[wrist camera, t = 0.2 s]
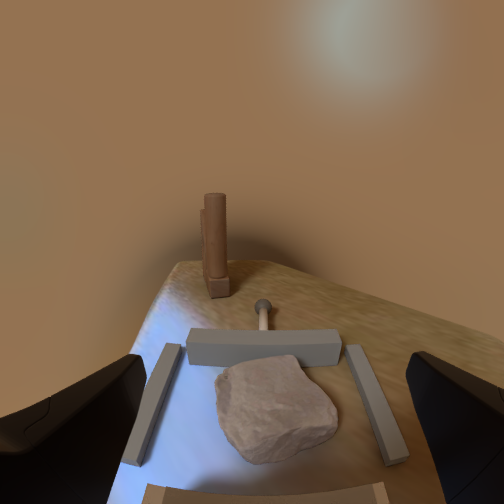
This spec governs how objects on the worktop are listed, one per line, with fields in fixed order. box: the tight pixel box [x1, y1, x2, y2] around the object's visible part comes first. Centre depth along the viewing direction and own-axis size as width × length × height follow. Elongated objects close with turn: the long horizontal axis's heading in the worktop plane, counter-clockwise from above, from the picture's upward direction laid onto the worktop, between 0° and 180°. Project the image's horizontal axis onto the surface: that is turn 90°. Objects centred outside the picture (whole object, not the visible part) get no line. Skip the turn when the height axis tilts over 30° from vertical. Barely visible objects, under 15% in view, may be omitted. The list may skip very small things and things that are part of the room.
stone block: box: [215, 355, 339, 465], centre depth 24 cm, size 12×5×10 cm
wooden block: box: [200, 193, 230, 298], centre depth 51 cm, size 4×11×18 cm, turn 16°
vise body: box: [121, 299, 410, 467], centre depth 30 cm, size 29×25×4 cm
